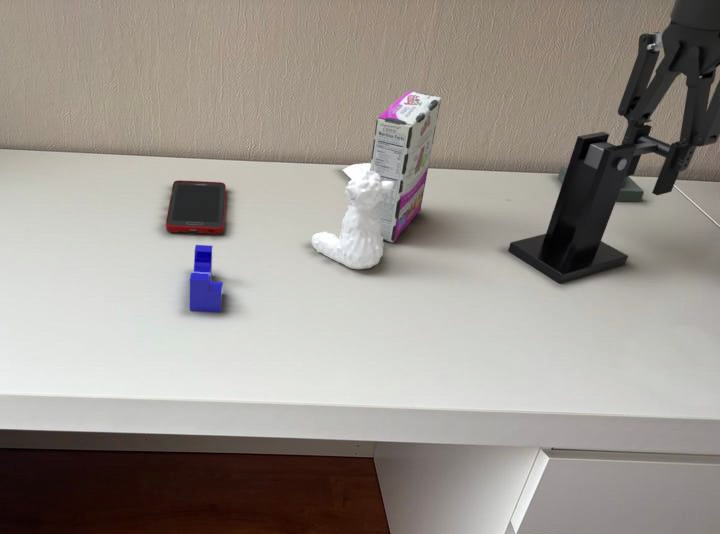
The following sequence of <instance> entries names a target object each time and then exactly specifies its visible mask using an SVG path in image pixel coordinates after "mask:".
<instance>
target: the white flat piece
mask: <svg viewBox="0 0 720 534" xmlns="http://www.w3.org/2000/svg"><path fill="white" fill-rule="evenodd" d="M370 166H371V162H367V163H365V162H363V163H354V164H351V165H348V166H347V167H345V168H343V169H342V172H343V173H344V174H345V175H346V176H347V177H348V178H349V179H350V180H352V179H353V178H354V177H355V176H356V174H357V173H358V172H362V171H370Z"/></svg>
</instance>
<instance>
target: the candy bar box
mask: <svg viewBox="0 0 720 534" xmlns="http://www.w3.org/2000/svg"><path fill="white" fill-rule="evenodd" d="M441 102H442V97H441V96H435V95H430V94H427V93H423V92H420V93H419V92H418V91H411V90H410V91H409V90H408V91H406V92H404V93H403V95H401V96H400V97H399V98H397V100H395V101H394V102H393V103H392V104H391V105H390V106H388V107H387V108H386V109H385V110H384V111H382V112H381V113H380V114H379V115H377V117H376V122H375V129H374V136H373V137H374V138H373V143H372V151H371V159H370V163H371V166H370V171H375V172H376V173H378V174H379V175H380V176H381V181H393V183H394V185H393V188H392V190H391V191H390V192H387V193H383V196H382V200H381V201H380V202H379V203H378V205H376V207H377V209H378V212H379V213H380V216H379V217H380V219H381V229H380V230H381V232H382V233H381V236H382V237H383V242H388V243H391V244H393V243H395V241H396V240H397V239H398V238H399V236H401V234H402V233H403V232H404V231H405V229H406V228H407V227H408V226H409V225H410V224H411V222H413V220H414V219H415V218H416V216H417V215H418V214H419V213H420V212H421V210H422V204H423V198H424V193H425V187H426V181H427V177H428V171H429V166H430V161H431V155H432V150H433V144H434V139H435V133H436V129H437V122H438V118H439V111H440V107H441Z"/></svg>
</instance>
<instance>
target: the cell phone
mask: <svg viewBox="0 0 720 534" xmlns="http://www.w3.org/2000/svg"><path fill="white" fill-rule="evenodd" d="M226 192H227V185H226V183H224V182H221V181H204V180H203V181H201V180H181V179H180V180H174V181H173V183H172V187H171V192H170V197H169V203H168V209H167V214H166V220H165V230H166V231H168V232H173V233H198V234H214V235H215V234H218V235H219V234H222V233H223V232H224V230H225V219H226V217H225V216H226V215H225V214H226Z"/></svg>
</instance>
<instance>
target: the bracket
mask: <svg viewBox="0 0 720 534" xmlns="http://www.w3.org/2000/svg"><path fill="white" fill-rule="evenodd" d="M609 137H610V134H609V133H608V132H605V131H599V132H594V133H588V134H583V135H578V136H577V138H576V141H575V143H574V147H573V150H572V153H571V156H570V159H569V161H568V165H567V167H566V168H567V171H566V174H565V177H564V180H563V183H562V182H561V183H562V184H561V187H560V189H559V192H558V196H557V199H556V202H555V205H554V208H553V211H552V214H551V218H550V220H549V223H548V226H547V229H546V233H543V234H539V235H536V236H530V237H527V238H523V239H519V240H514V241H511V242H510V243H509V246H508V249H507V250H508V252H509V253H511V254H512V255H514V256H515V257H517V258H518V259H520V260H522V261H523V262H525V263H526V264H528V265H529V266H531V267H533V268H534V269H536V270H538V271H539V272H540V273H542V274H544V275H545V276H547V277H548V278H550V279H552V280H553V281H555V282H556V283H558V284H563V283H566V282H569V281H573V280H577V279H581V278H583V277H586V276H590V275H593V274H597V273H600V272H604V271H607V270H610V269H614V268H617V267H621V266H625V265H626V263H627V260H628V258H629V255H628V254H625V253H624V252H622V251H620V250H618V249H616V248H615V247H613V246H611V245H609V244H608V243H606V242H604V241H602V239H603V237H604V234H605V232H606V229H607V226H608V224H609V221H610V218H611V216H612V213H613V210H614V207H615V205H616V203H617V201H616V200H617V197H618V195H619V192H620V189H621V187H622V184H623V181H624V179H625V176H626V173H627V171H628V168H629V166H630V163H631V160H632V158H633V155H634V152H635V150H636V147H637V146H636V145H633V144H631V143H628V144H623V145H621V144H619V145H615V146H613V147H608V148H604V151H603V154H602V157H601V160H600V163H599V165H598V168H597V169H595V168H593V167H591V166H589V165H587V164H585V163H584V161H585V158H586V155H587V152H588V150H589V147H590V144H594V143H601V142H608V140H609Z"/></svg>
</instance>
